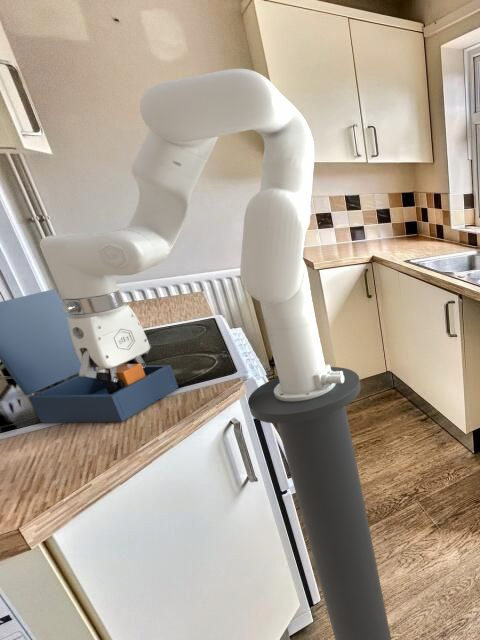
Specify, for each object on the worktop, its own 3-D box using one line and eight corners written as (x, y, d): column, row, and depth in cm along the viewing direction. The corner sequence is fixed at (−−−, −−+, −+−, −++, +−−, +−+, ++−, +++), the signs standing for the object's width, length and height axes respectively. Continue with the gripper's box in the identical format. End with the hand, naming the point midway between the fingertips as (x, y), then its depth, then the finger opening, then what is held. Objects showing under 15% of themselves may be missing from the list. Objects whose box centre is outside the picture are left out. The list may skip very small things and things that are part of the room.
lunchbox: (178, 387, 90) (170, 364, 88) (122, 421, 77) (111, 396, 75) (108, 388, 91) (98, 366, 89) (40, 422, 78) (28, 397, 76)
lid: (54, 289, 83) (33, 293, 83) (-31, 309, 70) (-55, 314, 70) (99, 363, 88) (80, 367, 89) (28, 394, 76) (6, 399, 76)
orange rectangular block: (153, 395, 85) (141, 363, 83) (136, 404, 82) (123, 372, 79) (132, 395, 85) (119, 363, 83) (114, 405, 82) (100, 372, 79)
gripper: (68, 317, 68) (110, 415, 75) (153, 291, 84) (182, 374, 91) (24, 318, 69) (70, 415, 75) (117, 292, 84) (148, 375, 91)
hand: (131, 392), depth 83 cm, fingers closed on orange rectangular block, 4 cm apart
